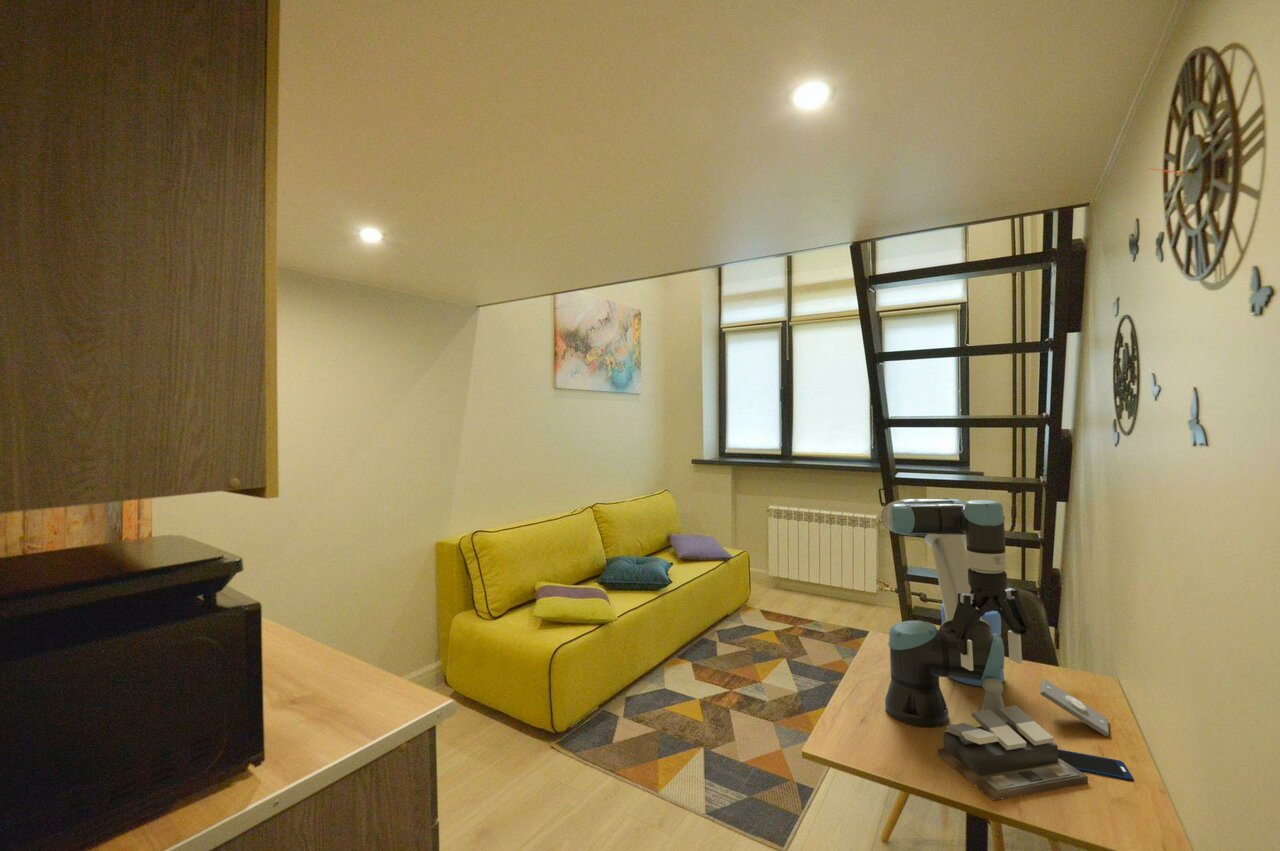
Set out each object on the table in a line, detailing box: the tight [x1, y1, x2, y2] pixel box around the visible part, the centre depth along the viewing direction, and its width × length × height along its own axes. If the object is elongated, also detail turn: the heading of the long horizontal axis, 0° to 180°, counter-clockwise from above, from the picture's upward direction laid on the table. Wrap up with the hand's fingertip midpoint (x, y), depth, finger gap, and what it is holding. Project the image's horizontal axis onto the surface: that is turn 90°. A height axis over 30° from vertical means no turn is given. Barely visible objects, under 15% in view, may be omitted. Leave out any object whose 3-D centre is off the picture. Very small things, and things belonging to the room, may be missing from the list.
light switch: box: [1039, 678, 1110, 737], centre depth 138 cm, size 8×6×14 cm
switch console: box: [937, 722, 1089, 801], centre depth 121 cm, size 16×23×5 cm
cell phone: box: [1058, 748, 1134, 782], centre depth 121 cm, size 7×14×1 cm, turn 63°
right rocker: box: [998, 704, 1055, 746], centre depth 125 cm, size 10×5×3 cm, turn 11°
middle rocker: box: [971, 709, 1027, 750], centre depth 123 cm, size 10×5×3 cm, turn 11°
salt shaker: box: [981, 678, 1008, 722], centre depth 135 cm, size 6×6×13 cm
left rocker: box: [945, 722, 999, 745], centre depth 122 cm, size 10×5×3 cm, turn 9°
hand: (991, 664), depth 123 cm, fingers open, 12 cm apart
